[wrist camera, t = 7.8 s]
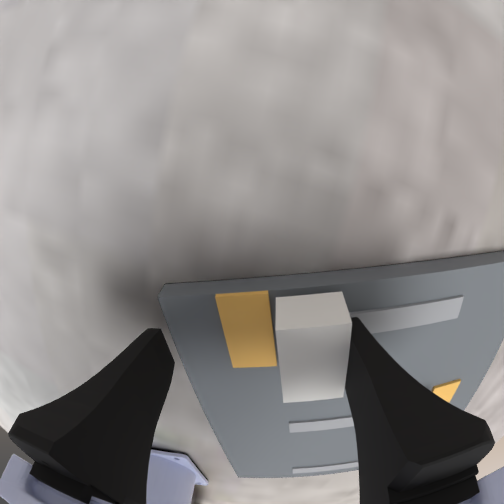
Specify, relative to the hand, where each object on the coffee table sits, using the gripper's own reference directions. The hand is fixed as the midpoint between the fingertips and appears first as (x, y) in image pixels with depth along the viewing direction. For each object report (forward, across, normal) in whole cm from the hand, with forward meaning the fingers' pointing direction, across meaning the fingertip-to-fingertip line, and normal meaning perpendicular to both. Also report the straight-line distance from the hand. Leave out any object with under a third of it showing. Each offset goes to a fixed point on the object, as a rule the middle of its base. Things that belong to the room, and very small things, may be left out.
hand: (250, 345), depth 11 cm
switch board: (+2, -5, +8) cm, 10 cm away
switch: (0, -2, 0) cm, 2 cm away
